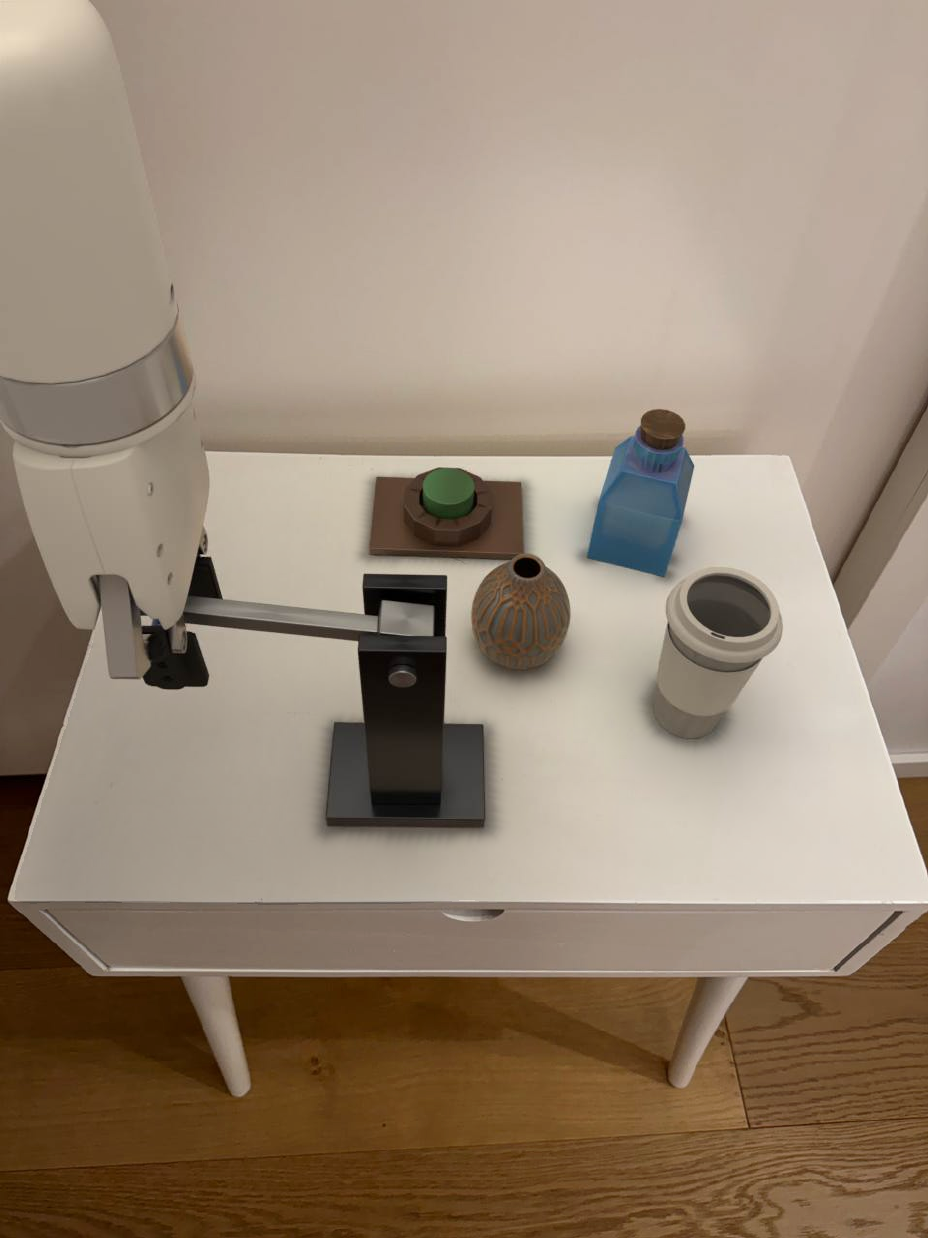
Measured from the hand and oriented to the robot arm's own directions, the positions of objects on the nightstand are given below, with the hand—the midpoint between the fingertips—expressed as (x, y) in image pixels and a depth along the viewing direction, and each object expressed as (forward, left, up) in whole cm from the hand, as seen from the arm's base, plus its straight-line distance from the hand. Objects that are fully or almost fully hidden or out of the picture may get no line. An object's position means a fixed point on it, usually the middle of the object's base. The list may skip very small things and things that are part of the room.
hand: (185, 642), depth 50 cm
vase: (+21, +6, -15) cm, 27 cm away
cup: (+31, -2, -15) cm, 35 cm away
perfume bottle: (+33, +14, -15) cm, 39 cm away
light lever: (+6, -1, +1) cm, 6 cm away
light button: (+19, +19, -13) cm, 30 cm away
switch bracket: (+11, -3, -15) cm, 19 cm away
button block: (+19, +19, -15) cm, 31 cm away
